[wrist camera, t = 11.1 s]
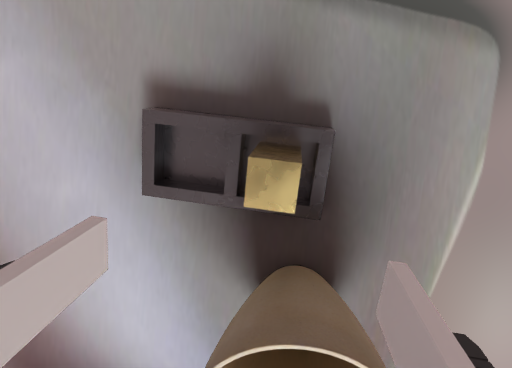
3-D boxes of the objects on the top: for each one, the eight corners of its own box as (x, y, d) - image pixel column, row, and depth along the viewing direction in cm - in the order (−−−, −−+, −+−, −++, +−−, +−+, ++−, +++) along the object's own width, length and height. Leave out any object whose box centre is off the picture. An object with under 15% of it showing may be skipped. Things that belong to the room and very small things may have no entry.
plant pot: (223, 334, 39) (176, 486, 24) (241, 221, 35) (198, 321, 20) (346, 362, 38) (379, 541, 23) (381, 250, 34) (449, 378, 19)
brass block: (295, 185, 33) (294, 213, 25) (256, 180, 33) (243, 206, 25) (300, 146, 32) (302, 163, 24) (260, 141, 32) (248, 156, 24)
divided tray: (318, 209, 34) (320, 220, 31) (154, 186, 35) (142, 195, 32) (331, 127, 31) (335, 131, 28) (156, 107, 33) (142, 108, 30)
